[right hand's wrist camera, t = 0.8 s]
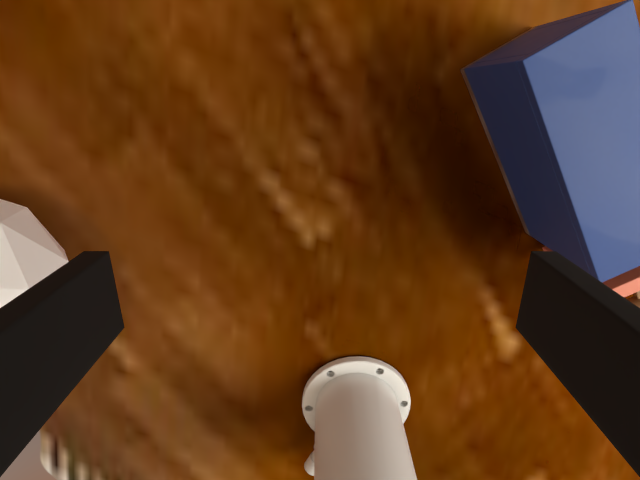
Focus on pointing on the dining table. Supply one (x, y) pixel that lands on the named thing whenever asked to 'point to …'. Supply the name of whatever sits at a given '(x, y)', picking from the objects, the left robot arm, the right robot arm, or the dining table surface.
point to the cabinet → (570, 133)
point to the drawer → (624, 283)
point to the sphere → (24, 251)
